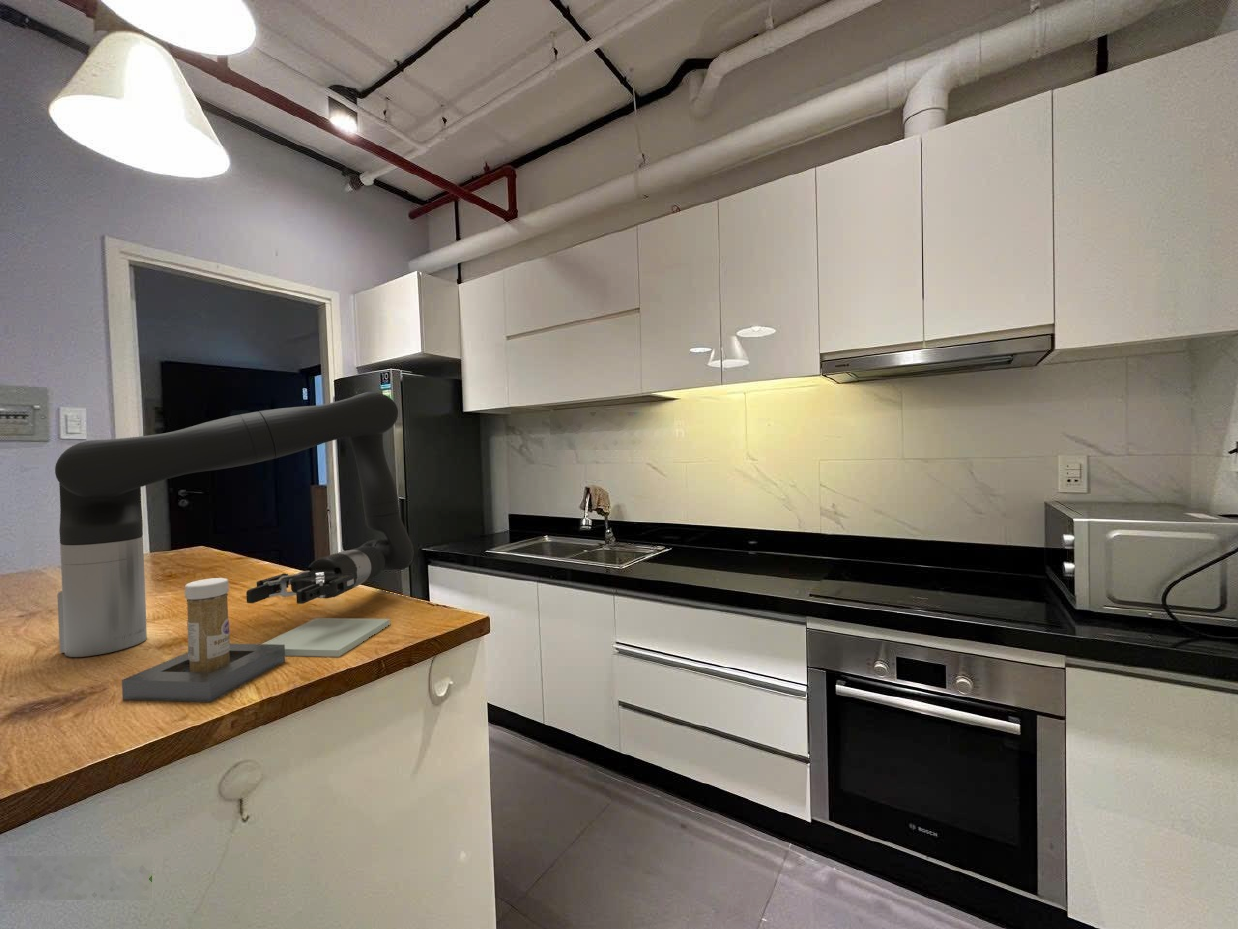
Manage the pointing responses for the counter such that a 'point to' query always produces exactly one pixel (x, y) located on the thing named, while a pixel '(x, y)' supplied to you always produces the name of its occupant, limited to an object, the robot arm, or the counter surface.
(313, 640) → the sage board
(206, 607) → the sprinkles bottle
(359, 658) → the counter surface
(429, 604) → the counter surface
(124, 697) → the metal socket
